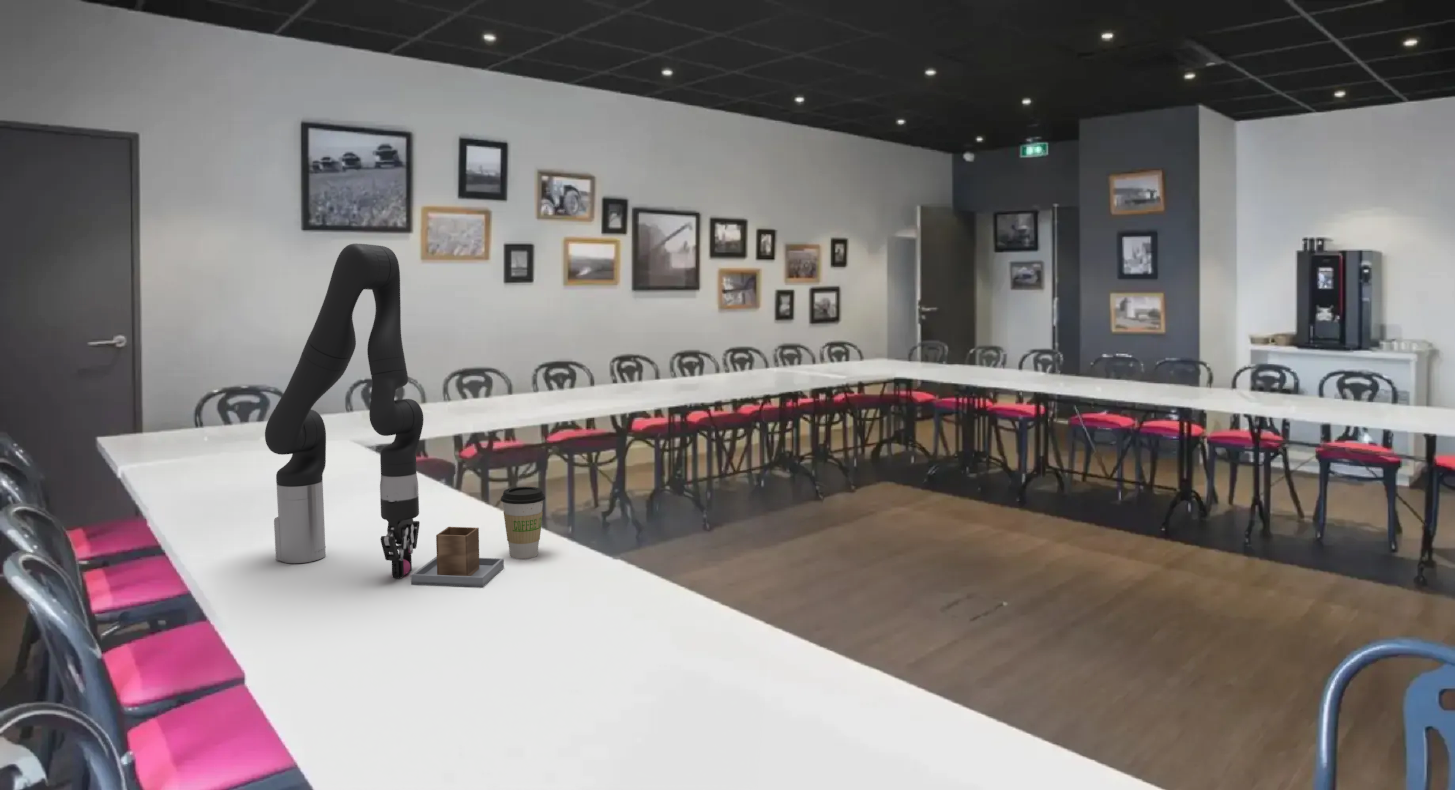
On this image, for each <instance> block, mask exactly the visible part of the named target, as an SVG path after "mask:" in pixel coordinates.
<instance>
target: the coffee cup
mask: <svg viewBox="0 0 1455 790" xmlns="http://www.w3.org/2000/svg"><path fill="white" fill-rule="evenodd" d="M545 499H546V496H545V494H544V493H543V489H542V488H540V487H535V486H515V487H511V488H507V489H504V490H503V492H502V495H501V497H500V501H501V502H502V505H503V519H504V525H505V534H506V541H507V544H508V551H509V556H510V558H512V559H516V560H525V559H526V560H527V559H532V558H535V557H537V556H538V553H539V546H540V545H539V544H540V539H541V533H542V532H541V531H542V521H543V514H544V513H543V512H544V510H543V504H544V501H545Z"/></svg>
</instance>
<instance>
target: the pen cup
mask: <svg viewBox="0 0 1455 790" xmlns="http://www.w3.org/2000/svg"><path fill="white" fill-rule="evenodd" d="M479 529H480V528H479V527H466V526H460V527H459V526H448V527H445V529H443V530H442V531H440V532H439V533H437V534H436V535H435V538H436V539H435V540H436V542H435V543H436V547H435V548H436V556H437V575H451V576H472V575H473V574H474V573H475V572H476V571H477V570H478V569H479V558H480V534H479V533H480V532H479V531H480V530H479Z"/></svg>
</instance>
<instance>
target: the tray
mask: <svg viewBox="0 0 1455 790" xmlns="http://www.w3.org/2000/svg"><path fill="white" fill-rule="evenodd" d="M504 559H505V558H497V557H495V558H494V557H479V569H478V570H477V571H476V572H475V573H474V574H473V575H472V576H451V575H437V555H436V556H435V557H434V558H432V559H431V560H430V561H428V562H426V563H425V564H424V565H422V566H421V567H420V568H419V569H417V570H416V571H415V572H413V573H411V575H410V578H411V579H410V584H411V585H419V586H443V587H464V588H466V587H468V588H469V587H470V588H484V586H486V585H487V584H488V583H489V582H490V581H491V580H492V579H493V578H494V577H495V576H496V575H498V573H500V572H501V570H503V569H504V568H505V563H504V561H505V560H504Z"/></svg>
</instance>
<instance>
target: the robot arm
mask: <svg viewBox="0 0 1455 790" xmlns="http://www.w3.org/2000/svg"><path fill="white" fill-rule="evenodd" d="M400 272H401V271H400V265H399V260H398V258H397V255H396V254H395V252H394V251H393V250H392V249H391V248H390V247H387V246H384V245H377V244H367V243H366V244H365V243H349V244H348V245H346V246H345V247H343V248H342V250H341V252H340V253H339V255H338V256H337V258H336V261H335V264H334V266H333V270H332V273H331V277H330V280H329V284H328V287H327V291H326V294H325V296H324V299H323V302H322V305H321V307H320V310H319V313H318V315H317V318H316V320H315V323H314V325H313V328H312V330H311V332H310V334H309V335H308V338H307V340H306V342H305V345H304V347H303V350H302V352H301V355H300V358H299V360H298V362H297V365H296V367H295V369H294V371H293V373H292V375H291V378H290V379H289V382H288V384H287V386H286V388H285V390H284V391H283V394H282V395H281V398H280V399H279V401H278V402H277V404H276V405H275V407H274V409H273V411H272V413H271V414H270V416H269V418H268V420H267V423H266V426H265V429H264V430H265V431H264V441H265V444H266V446H267V448H268V449H269V450H270V451H271V452H272V453H273V454H275V455H283V456H284V455H291V457H290V459H289V461H288V462H286V464H285V465H284V466H282V467H281V468H280V469H278V470H277V472H276V474H275V475H276V477H275V482H276V500H277V517H275V518H274V520H273V525H274V527H273V528H274V546H275V549H274V551H275V561H277V562H278V561H280V562H282V563H286V564H304V563H311V562H315V561H319V560H321V559H323V558H325V557H326V547H327V546H326V533H325V532H326V531H325V530H326V528H325V506H324V501H325V500H324V485H323V484H324V483H323V481H324V480H323V475H324V471H325V469H326V461H327V460H326V457H327V456H326V455H327V454H326V453H327V432H326V425H325V422H324V420H323V417H322V416H321V414H320V413H318V412H317V411H316V410H314V409H312V408H313V406H314V405H315V404H316V402H317V401H318V400H320V398H321V397H323V396H324V395H325V394H326V393H327V392H329V390H330V389H332V387H333V386H334V385H335V384H337V382H338V381H339V380H340V379H341V377H343V375H345V372H346V370H347V368H348V366H349V364H350V362H351V359H352V357H353V355H354V353H355V349H356V344H357V343H356V342H357V339H356V333H355V327H354V322H353V321H354V320H353V316H354V310H355V307H356V304H357V302H358V299H359V298H360V295H361V294H362V292H363V291H364V290H367V291H368V290H370V291H371V290H372V291H371V292H372V294H373V299H374V303H375V315H374V320H373V324H372V328H371V330H370V333H369V337H368V343H367V359H368V367H369V371H370V375H371V376H370V377H371V389H370V390H371V391H370V403H369V413H368V415H369V416H368V417H369V422H370V425H371V426H372V428H373V430H374V431H375V432H376V433H377V434H378V435H381V436H382V437H384V436H385V437H390V436H395V437H394V439H393V442H391V443H389V444H388V445H385V447H383V448H382V449H381V451H380V455H379V456H380V458H379V459H380V462H379V463H380V481H379V493H380V494H379V497H380V498H379V499H380V517H381V518H382V519H383V520H385V521H387V530H386V531H387V532H386V533H387V534H386V535H381V537H380V543H381V547H382V551H383V555H384V559H385V560H386V561H391V577H392V578H393V579H402V578H404V576H405V575H404V567H403V559H405V560H407V561H408V562H409V563H410V571H409V572H408V573H410V572H411V571H412V570H413V568H412V567H413V566H412V565H413V564H412V563H413V560H412V555H413V553H414V550H416V548H417V545H418V537H419V531H420V521H419V520H414V519H415V518H416V517H417V518H418V516H419V514H420V503H419V502H420V501H419V500H420V498H419V495H420V494H419V480H418V475H417V473H418V472H417V450H418V447H419V444H420V440H421V437H422V436H421V435H422V431H423V426H424V412H423V410H422V407H421V406H420V403H419V402H417V400H414V399H411V398H403V399H396V400H395V397H396V391H397V390H398V389H400V388H403V387H405V386H406V385H407V384H408V381H409V376H408V374H409V373H408V371H407V364H406V358H405V353H404V347H403V341H402V339H403V338H402V326H401V325H402V324H401V323H402V322H401V321H402V320H401V319H402V318H401V316H402V315H401V312H402V311H401V308H402V307H401V275H400V274H401V273H400Z"/></svg>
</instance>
